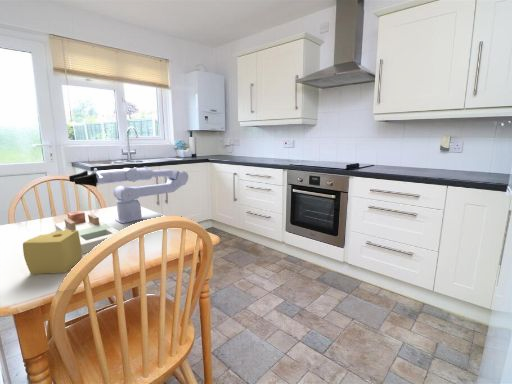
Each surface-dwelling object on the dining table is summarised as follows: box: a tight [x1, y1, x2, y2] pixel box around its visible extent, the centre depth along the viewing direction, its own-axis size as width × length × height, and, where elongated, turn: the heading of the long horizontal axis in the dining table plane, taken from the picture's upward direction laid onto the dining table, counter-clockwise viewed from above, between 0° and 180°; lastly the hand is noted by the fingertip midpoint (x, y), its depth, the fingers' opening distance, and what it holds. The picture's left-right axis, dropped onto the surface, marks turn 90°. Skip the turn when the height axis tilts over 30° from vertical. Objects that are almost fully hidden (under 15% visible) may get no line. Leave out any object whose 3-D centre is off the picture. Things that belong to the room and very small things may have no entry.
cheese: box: [22, 230, 83, 275], centre depth 84 cm, size 10×11×10 cm
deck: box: [54, 213, 119, 254], centre depth 110 cm, size 14×33×6 cm, turn 47°
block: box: [66, 210, 86, 224], centre depth 118 cm, size 5×5×4 cm
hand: (72, 180), depth 112 cm, fingers open, 7 cm apart
